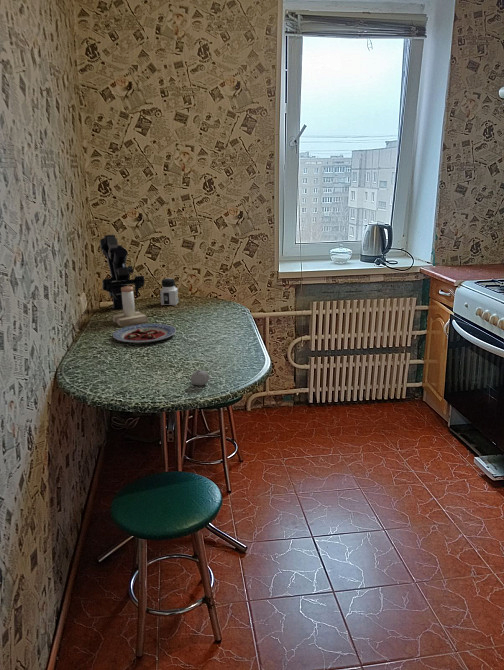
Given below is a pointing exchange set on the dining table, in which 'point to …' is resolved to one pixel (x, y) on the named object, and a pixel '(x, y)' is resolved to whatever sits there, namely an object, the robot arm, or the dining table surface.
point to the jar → (128, 301)
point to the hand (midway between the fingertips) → (126, 298)
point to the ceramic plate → (144, 333)
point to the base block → (129, 319)
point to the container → (169, 292)
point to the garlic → (199, 377)
